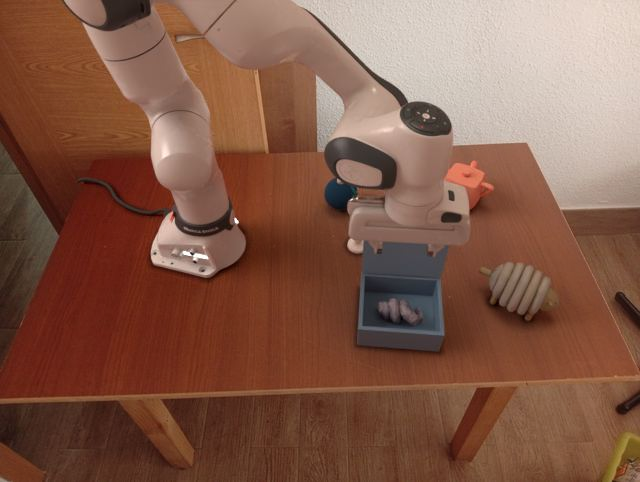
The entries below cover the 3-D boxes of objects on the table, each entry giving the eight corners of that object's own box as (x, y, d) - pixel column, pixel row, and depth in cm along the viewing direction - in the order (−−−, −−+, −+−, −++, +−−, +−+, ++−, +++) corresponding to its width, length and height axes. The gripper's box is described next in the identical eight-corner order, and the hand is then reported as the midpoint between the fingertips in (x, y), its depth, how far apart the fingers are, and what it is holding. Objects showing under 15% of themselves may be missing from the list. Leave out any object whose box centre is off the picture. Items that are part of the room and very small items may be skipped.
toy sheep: (544, 338, 99) (564, 309, 90) (464, 305, 104) (476, 275, 96) (555, 299, 105) (575, 269, 96) (479, 270, 110) (491, 239, 102)
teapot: (471, 179, 129) (480, 151, 122) (488, 211, 122) (499, 183, 114) (429, 185, 128) (435, 156, 121) (444, 217, 121) (452, 189, 113)
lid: (453, 228, 90) (451, 210, 94) (364, 223, 91) (365, 205, 95) (441, 277, 100) (439, 259, 104) (361, 272, 102) (362, 254, 105)
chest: (438, 351, 98) (444, 335, 92) (357, 345, 99) (358, 329, 94) (435, 295, 106) (440, 277, 101) (360, 290, 108) (361, 272, 102)
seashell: (421, 321, 103) (374, 316, 104) (424, 297, 101) (376, 293, 103) (423, 331, 98) (373, 326, 99) (425, 306, 96) (375, 301, 98)
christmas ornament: (339, 222, 121) (339, 194, 113) (317, 203, 125) (316, 175, 117) (363, 206, 124) (365, 177, 116) (342, 188, 128) (342, 160, 120)
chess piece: (366, 255, 114) (368, 227, 106) (345, 252, 115) (346, 224, 107) (369, 239, 117) (371, 211, 109) (349, 236, 118) (350, 208, 110)
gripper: (345, 210, 75) (345, 263, 86) (479, 216, 73) (462, 270, 84) (348, 182, 79) (347, 235, 90) (475, 187, 77) (459, 241, 88)
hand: (404, 252), depth 87 cm, fingers open, 8 cm apart
